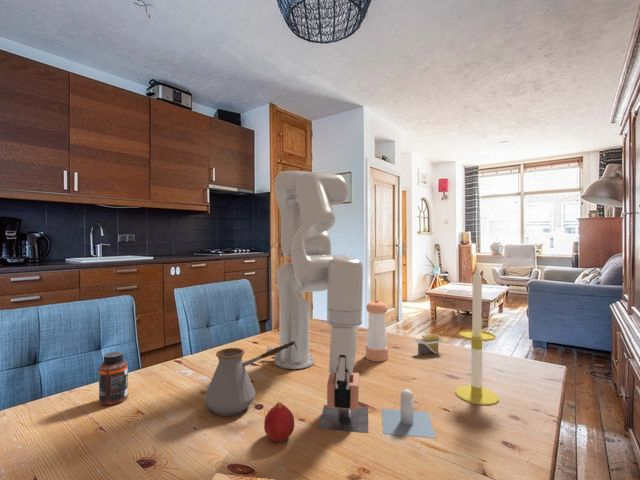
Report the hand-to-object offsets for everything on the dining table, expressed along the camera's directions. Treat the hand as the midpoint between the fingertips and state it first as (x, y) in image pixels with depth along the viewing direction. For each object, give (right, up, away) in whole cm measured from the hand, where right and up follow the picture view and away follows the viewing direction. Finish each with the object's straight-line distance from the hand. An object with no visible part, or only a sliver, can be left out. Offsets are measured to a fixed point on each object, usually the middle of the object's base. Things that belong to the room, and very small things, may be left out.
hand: (343, 397), depth 73 cm
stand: (0, -5, -1) cm, 5 cm away
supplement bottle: (-55, -5, +9) cm, 56 cm away
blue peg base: (+13, -5, -2) cm, 14 cm away
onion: (-13, -5, -8) cm, 16 cm away
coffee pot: (-21, -5, +6) cm, 23 cm away
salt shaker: (+14, -5, +39) cm, 42 cm away
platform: (+32, -5, +43) cm, 54 cm away
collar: (0, -1, 0) cm, 1 cm away
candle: (+34, -5, +12) cm, 37 cm away
